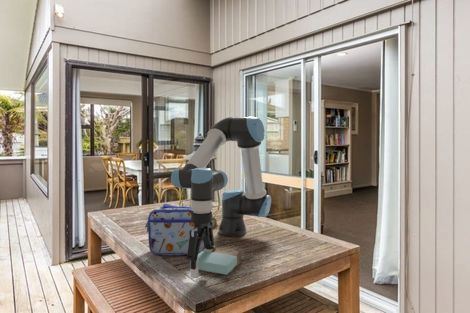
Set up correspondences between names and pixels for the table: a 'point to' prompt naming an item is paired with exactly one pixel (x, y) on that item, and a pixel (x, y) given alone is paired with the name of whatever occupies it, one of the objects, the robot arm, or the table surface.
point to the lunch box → (170, 230)
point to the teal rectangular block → (216, 262)
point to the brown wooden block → (228, 254)
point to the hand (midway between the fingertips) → (201, 271)
